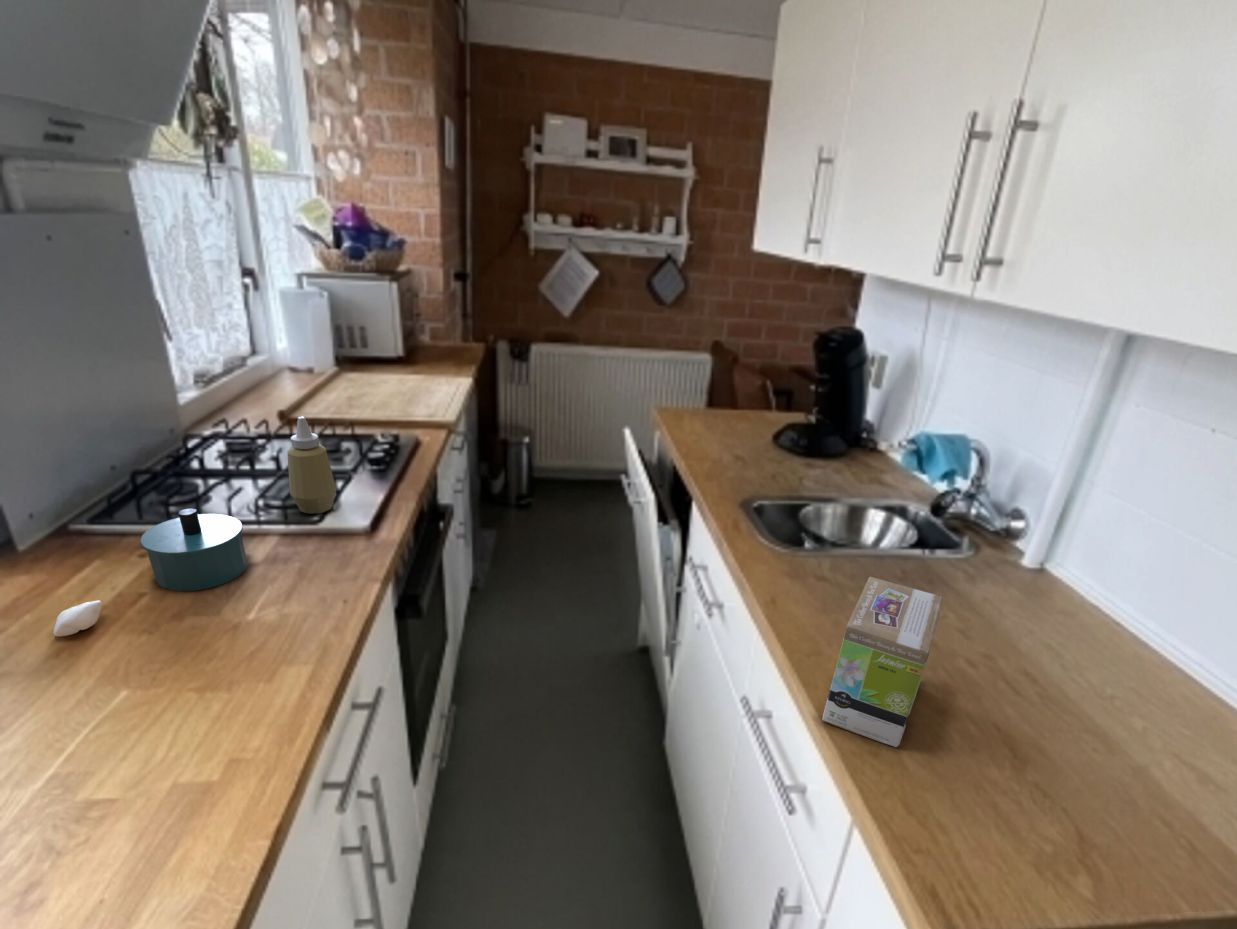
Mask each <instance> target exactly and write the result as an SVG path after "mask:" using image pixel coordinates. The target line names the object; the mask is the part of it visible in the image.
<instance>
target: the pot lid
mask: <svg viewBox="0 0 1237 929" xmlns="http://www.w3.org/2000/svg"><path fill="white" fill-rule="evenodd" d="M242 532H243V524H242V522H241V521H240V520H239V519H237V518H236V517H233V516H230V515H228V514H227V515H226V514H220V513H219V514H218V513H200V514H199V513H198V511H197V509H196V508H185V509H182V510H180V511H178V517H176V518H173V519H172V518H171V519H169V520H166V521H163V522H161V523H158V524H156V525H153V526H152V527H150V528H149V529H147V530H146V531H145V532H143V534H142V535H141V537H140V545H141V547H142V548H143V549H144V550H145V551H146V552H147V551H149V552H151V553H155V554H160V555H188V554H195V553H201V552H205V551H209V550H213V549H216V548H219V547H221V546H224V545H226V544H228V543H230V542H232V541H233V540H235V539H236V538H237V537H238V536H239V535H240V534H241V535H242Z"/></svg>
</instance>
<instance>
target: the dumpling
mask: <svg viewBox="0 0 1237 929" xmlns="http://www.w3.org/2000/svg"><path fill="white" fill-rule="evenodd" d="M69 601H70V602H71V600H70V599H69ZM101 611H102V601H101V600H99V599H98V600H92V601H87V602H86V601H85V602H83V603H81V604H78V605H75V606H72V607H69V608H67V609H64V610H62V611H61V612H59V614H58V616H57V617H56V618H55V619H56V620H55V621H56V622H55V625H54V627H53V631H52V634H53V636H54V637H67V636H71V635H74V634H77V633H78V632H80V630H81V631H84V630H87V629H89V628H90V627H93V626H94V625H95V624H96V623H97V622H98V620H99V617H100V615H101Z"/></svg>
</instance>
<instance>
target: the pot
mask: <svg viewBox="0 0 1237 929" xmlns="http://www.w3.org/2000/svg"><path fill="white" fill-rule="evenodd" d="M245 549H246V548H245V545H244V541H243V536H242V533H241V534H240V535H239V536H238V537H237V538H236V539H235V540H233V541H232V542H230V543H228V544H226V545H224V546H221V547H219V548H216V549H213V550H209V551H205V552H201V553H195V554H188V555H160V554H155V553H151V552H149V551H147V550H146V552H147V556H148V559H149V563H150V567H151V569H152V573H153V577H154V579H155V582H156V583H157V584H158V585H159V586H160V587H162V588H164V589H166V590H170V591H175V592H176V591H177V592H193V591H201V590H206V589H210V588H215V587H217V586H221V585H223V584H226V583H229V582H231V581H233V580H235V579H236V578H238V577H239V576H240V575H242V574H243V573H244V572H245V570H246V569H247V567H248V566H247V565H248V563H247V562H248V558H247V554H246V550H245Z"/></svg>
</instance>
